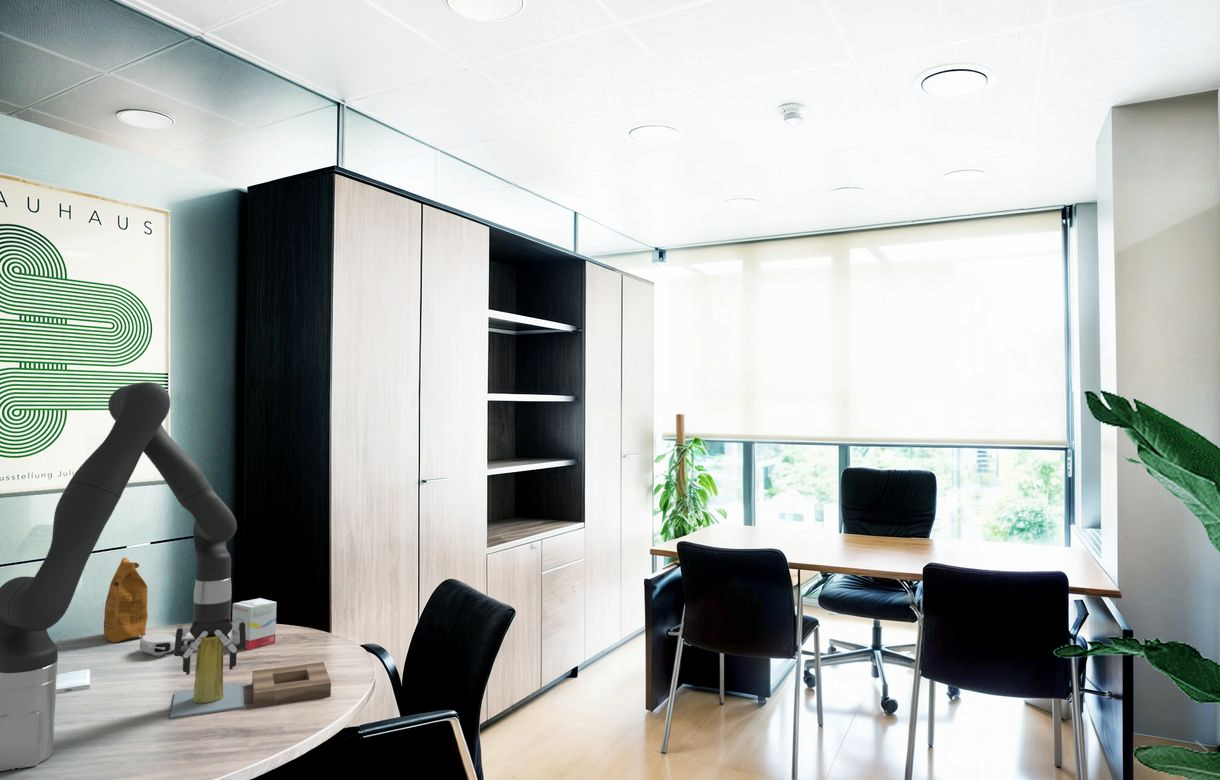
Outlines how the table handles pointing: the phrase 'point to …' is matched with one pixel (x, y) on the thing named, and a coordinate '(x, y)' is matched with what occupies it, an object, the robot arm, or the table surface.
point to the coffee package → (126, 604)
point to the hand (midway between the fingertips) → (209, 671)
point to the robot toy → (162, 643)
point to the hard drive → (73, 681)
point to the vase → (209, 671)
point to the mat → (188, 707)
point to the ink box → (255, 622)
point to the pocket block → (290, 684)
